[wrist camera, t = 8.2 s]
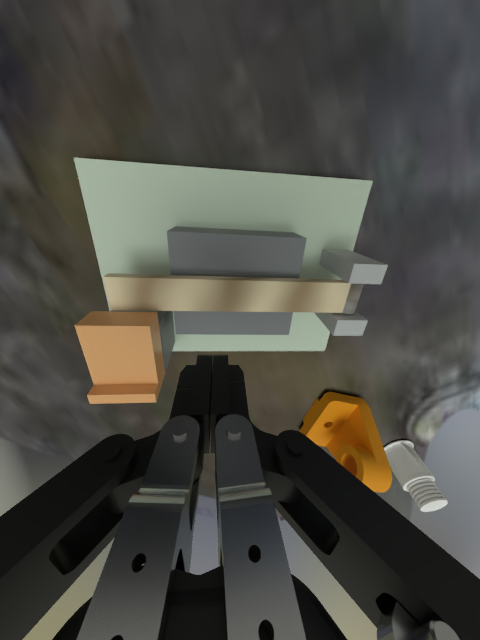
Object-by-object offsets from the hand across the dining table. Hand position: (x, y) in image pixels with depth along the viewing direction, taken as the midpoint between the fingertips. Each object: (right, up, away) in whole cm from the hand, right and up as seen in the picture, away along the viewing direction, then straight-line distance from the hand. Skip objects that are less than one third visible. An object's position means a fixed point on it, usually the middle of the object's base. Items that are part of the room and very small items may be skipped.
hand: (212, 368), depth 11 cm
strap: (+1, +5, +10) cm, 11 cm away
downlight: (+34, -25, +36) cm, 56 cm away
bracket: (+17, -14, +29) cm, 36 cm away
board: (0, +8, +15) cm, 17 cm away
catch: (-9, 0, +10) cm, 13 cm away
